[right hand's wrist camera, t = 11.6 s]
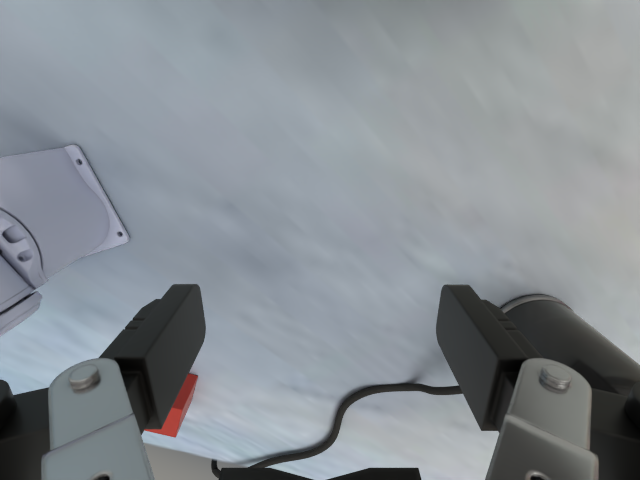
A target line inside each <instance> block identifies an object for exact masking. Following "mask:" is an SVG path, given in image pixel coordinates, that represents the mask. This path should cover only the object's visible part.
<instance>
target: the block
mask: <svg viewBox="0 0 640 480" xmlns="http://www.w3.org/2000/svg"><path fill="white" fill-rule="evenodd" d="M197 378H198V376H197V375H193V374H189V373H188V375H187V377H186V379H185V381H184V384H183V386H182V388H181V390H180V392H179V394H178V396H177V398H176V400H175V402H174V404H173V406H172V408H171V410H170V412H169V414H168V416H167V419H166V421H165V423H164V425H163V427H162V429H144V430H145V431H150V432H154V433H158V434H163V435H167V436H171V437H176V435H177V433H178V431H179V429H180V426H181V424H182V422H183V419H184V417H185V415H186V412H187V410H188V408H189V406H190V403H191V401H192V397H193V393H194V389H195V386H196V382H197Z"/></svg>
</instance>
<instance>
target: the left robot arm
mask: <svg viewBox="0 0 640 480" xmlns="http://www.w3.org/2000/svg"><path fill="white" fill-rule="evenodd" d="M79 159H80V160H81V161H82V164H80V163H79ZM119 232H122V234H123V235H120V234H119ZM129 240H130V237H129V235H128V233H127V231H126V230H125V228H124V226H123V224H122V222H121V221H120V219H119V217H118V215H117V213H116V212H115V210H114V208H113V206H112V204H111V203H110V201H109V199H108V197H107V196H106V194H105V192H104V190H103V188H102V187H101V185H100V183H99V181H98V179H97V178H96V176H95V174H94V172H93V170H92V169H91V167H90V165H89V163H88V161H87V160H86V158H85V156H84V154H83V152H82V151H81V149H80V147H79V146H77V145H75V144H74V145H68V146H66V147H63V148H56V149H50V150H43V151H37V152H30V153H24V154H17V155H11V156H5V157H0V336H2V335H3V334H5V333H6V332H8V331H9V330H11V329H12V328H14V327H15V326H17V325H18V324H19V323H21V322H22V321H24V320H25V319H27V318H28V317H29V316H31V315H32V314H33V313H34V312H36V311H37V310H38V309H39V306H40V301H41V299H42V295H41V294H40V293H39V292H38V291H36V292H34V293H32V294H31V292H32V291H33V290H35V289H36V288H38V287H40V286H41V285H43V284H44V283H46V282H47V281H48V279H47V278H49V277H51V276H52V275H54V274H55V273H57V272H59V271H60V270H62V269H63V268H65V267H67V266H68V265H70V264H71V263H73V262H75V261H76V260H78V259H79V258H82V257H85V256H88V255H91V254H94V253H97V252H100V251H103V250H107V249H110V248H113V247H116V246H119V245H122V244H125V243H127V242H128V241H129Z"/></svg>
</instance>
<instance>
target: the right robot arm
mask: <svg viewBox="0 0 640 480" xmlns="http://www.w3.org/2000/svg"><path fill="white" fill-rule="evenodd" d="M205 331H206V326H205V318H204V311H203V304H202V297H201V291H200V287H199V286H198V285H197V284H174V285H172V286H171V287H170V289H169V290H168V291H167V292H166V294H165V295H164V296H163V297H162V298H161V299H156V300H154V301H152V302H151V303H149V304H148V305H146V306H144V307H143V308H142V309H141V310H140V311H139V312H138V313H137V314H136V315H135V317H134V318H133V321H130V322H129V324H128V325H127V326H126V327H125V330H122V332H121V333H120V334H119V335H118V336H117V337H116V338H115V340H114V341H113V342H112V343H111V344H110V345H109V347H108V348H107V349H106V350H105V351H104V352H103V353H102V355H101V356H100V357H99V358H96V359H91V360H87V361H84V362H81V363H78V364H76V365H74V366H72V367H70V368H68V369H67V370H65V371H64V372H62V373H61V374H60V375H59V376H57V377H56V378H55V379H54V381H53V382H52V383H51V385H50V387H49V388H44V389H40V390H35V391H31V392H26V393H21V394H17V395H13V394H12V391H11V389H10V387H9V385H8V383H7V382H6V381H4V380H0V480H155V479H154V475H153V472H152V469H151V466H150V463H149V459H148V456H147V453H146V450H145V446H144V443H143V440H142V437H141V435H142V433H143V431H144V429H162V427H163V425H164V423H165V421H166V419H167V416H168V414H169V412H170V410H171V408H172V406H173V404H174V402H175V400H176V398H177V396H178V394H179V392H180V390H181V388H182V386H183V384H184V381H185V379H186V377H187V375H188V373H189V371H190V369H191V367H192V365H193V363H194V361H195V359H196V357H197V355H198V353H199V351H200V349H201V347H202V344H203V342H204V338H205ZM436 334H437V340H438V343H439V346H440V348H441V350H442V352H443V354H444V356H445V358H446V360H447V362H448V364H449V366H450V368H451V370H452V372H453V374H454V376H455V378H456V380H457V382H458V384H459V386H451V387H431V386H427V385H423V384H393V385H379V386H373V387H369V388H366V389H363V390H361V391H358V392H356V393H355V394H353V395H351V396H350V397H349V398H347V399H346V400H345V401H344V402H343V403H342V405H341V406H340V408H339V410H338V413H337V416H336V420H335V424H334V428H333V431H332V434H331V435H330V437H329V438H328V439H327V441H325V442H324V443H323V444H322V445H320V446H318V447H316V448H314V449H312V450H308V451H305V452H300V453H294V454H288V455H282V456H278V457H274V458H270V459H267V460H264V461H262V462H259V463H257V464H255V465H252V466H250V467H248V468H222V469H221V471H220V470H219V469H218V467H217V460H216V459H212V461H211V469H212V472H213V474H214V475H215V476H216V477H217V478H219V480H313V479H309V478H305V477H302V476H298V475H294V474H291V473H287V472H283V471H280V470H276V469H272V468H265V467H268V466H270V465H274V464H278V463H282V462H288V461H294V460H300V459H305V458H309V457H312V456H315V455H317V454H320V453H322V452H323V451H325V450H326V449H328V448H329V447H330V446H331V445H332V444H333V443H334V441H335V440H336V438H337V436H338V433H339V430H340V426H341V422H342V418H343V415H344V413H345V411H346V410H347V408H348V407H349V406H350V405H351V404H352V403H354V402H355V401H357V400H359V399H361V398H363V397H365V396H368V395H371V394H375V393H381V392H392V391H422V392H426V393H429V394H434V395H453V394H464V396H465V398H466V400H467V403H468V405H469V407H470V409H471V411H472V413H473V415H474V417H475V419H476V421H477V423H478V425H479V427H480V429H481V431H499V433H500V434H499V437H498V440H497V443H496V446H495V450H494V453H493V456H492V459H491V463H490V466H489V469H488V472H487V475H486V479H485V480H640V365H639V364H638V363H636V362H635V361H634V360H633V359H631V358H630V357H629V356H628V355H627V354H625V353H624V352H623V351H622V350H620V349H619V348H618V347H617V346H615V345H614V344H613V343H612V342H610V341H609V340H608V339H607V338H605V337H604V336H603V335H602V334H600V333H599V332H598V331H597V330H596V329H594V328H593V327H592V326H591V325H589V324H588V323H587V322H585V321H584V320H583V319H582V318H580V317H579V316H578V315H577V314H575V313H574V312H573V311H572V309H571V308H569V307H568V306H567V305H566V304H564V303H563V302H562V301H560V300H559V299H556V298H554V297H551V296H547V295H530V296H525V297H521V298H518V299H516V300H514V301H511V302H510V303H508V304H506V305H505V306H503V307H502V308H501V309H500V308H498V307H497V306H495V305H494V304H492V303H490V302H489V301H487V300H481V299H480V298H479V296H478V295H477V294H476V293H475V292H474V290H473V289H472V288H471V287H470V286H469V285H444V286H443V288H442V291H441V297H440V303H439V310H438V317H437V324H436ZM327 480H421V477H420V473H419V469H418V468H368V469H364V470H360V471H357V472H353V473H349V474H346V475H342V476H338V477H335V478H331V479H327Z"/></svg>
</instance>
